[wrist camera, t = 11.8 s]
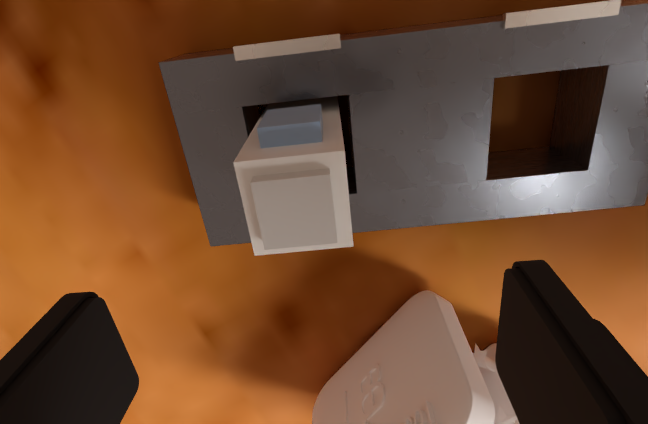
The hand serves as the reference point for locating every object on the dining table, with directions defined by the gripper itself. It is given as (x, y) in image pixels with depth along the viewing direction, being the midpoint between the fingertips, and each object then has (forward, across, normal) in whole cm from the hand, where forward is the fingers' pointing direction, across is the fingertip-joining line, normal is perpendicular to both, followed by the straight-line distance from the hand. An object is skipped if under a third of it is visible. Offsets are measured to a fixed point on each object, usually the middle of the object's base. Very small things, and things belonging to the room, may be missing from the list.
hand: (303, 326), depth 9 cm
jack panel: (+16, -5, 0) cm, 17 cm away
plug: (+16, +1, 0) cm, 16 cm away
